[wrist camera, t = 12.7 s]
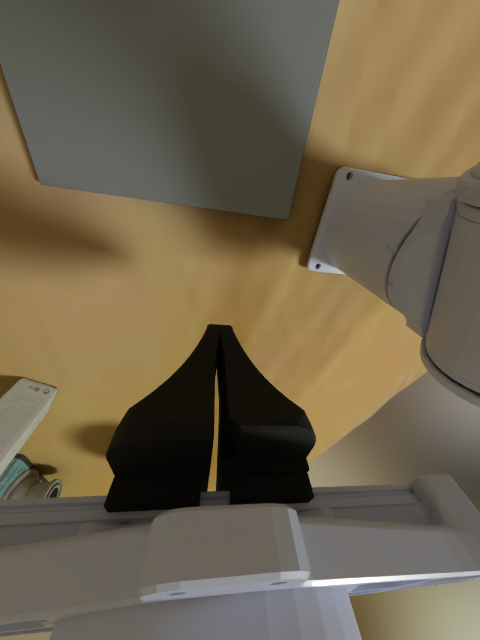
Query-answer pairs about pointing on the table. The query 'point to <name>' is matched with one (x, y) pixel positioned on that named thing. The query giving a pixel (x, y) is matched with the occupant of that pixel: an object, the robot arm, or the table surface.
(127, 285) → the table surface
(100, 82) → the plate
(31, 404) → the skincare box
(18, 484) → the camera
